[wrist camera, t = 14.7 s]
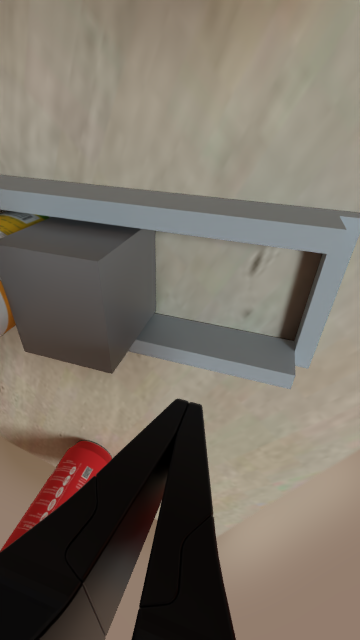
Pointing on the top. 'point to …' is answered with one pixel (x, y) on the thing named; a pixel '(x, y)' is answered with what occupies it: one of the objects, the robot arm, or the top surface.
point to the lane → (218, 223)
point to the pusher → (79, 289)
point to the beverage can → (63, 483)
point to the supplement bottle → (3, 225)
